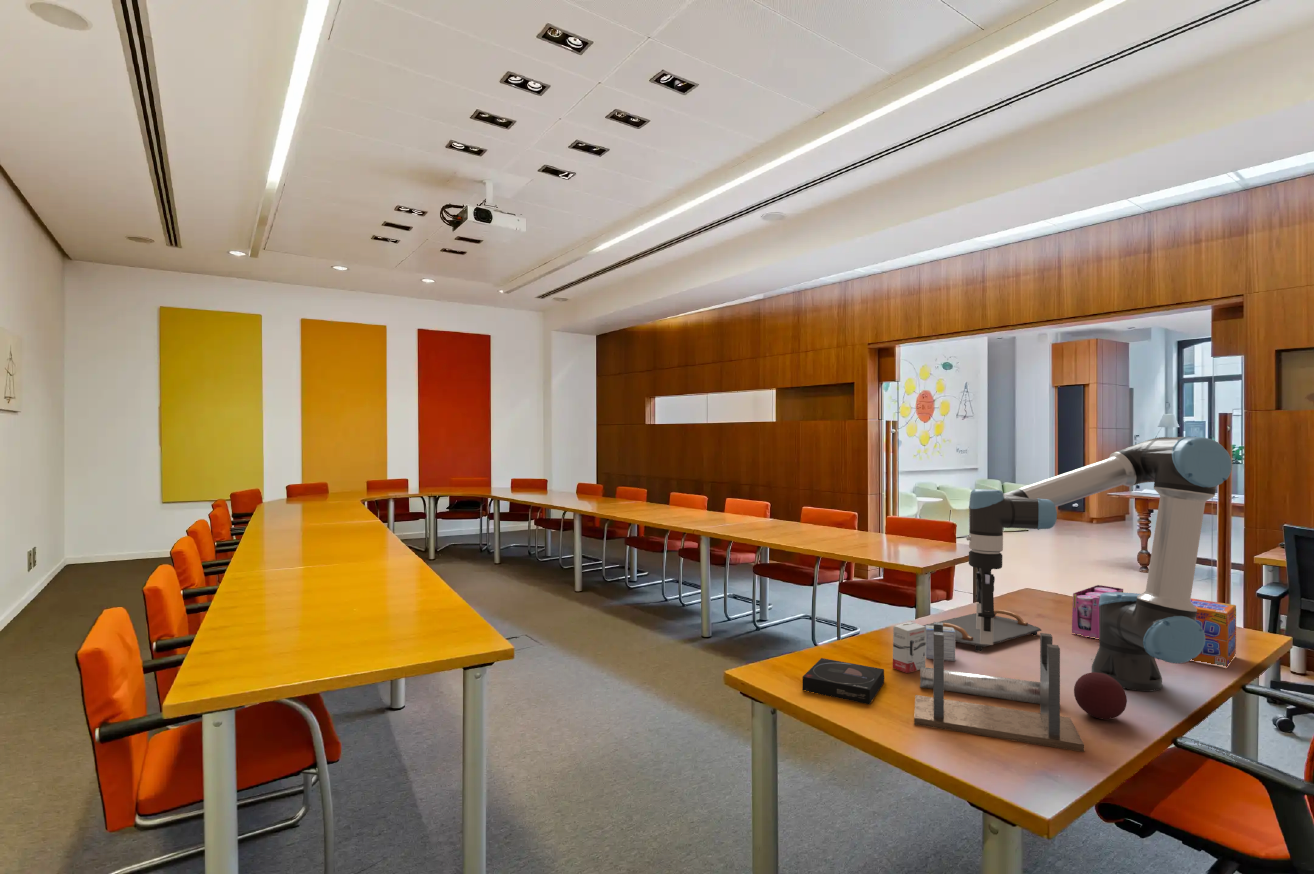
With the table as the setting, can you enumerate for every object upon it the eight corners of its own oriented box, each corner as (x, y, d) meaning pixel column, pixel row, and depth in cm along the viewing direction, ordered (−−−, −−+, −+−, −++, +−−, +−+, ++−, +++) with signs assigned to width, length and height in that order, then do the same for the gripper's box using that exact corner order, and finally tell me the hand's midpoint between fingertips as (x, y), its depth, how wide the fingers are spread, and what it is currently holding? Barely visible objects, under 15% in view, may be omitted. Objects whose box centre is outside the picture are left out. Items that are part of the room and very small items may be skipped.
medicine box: (953, 656, 188) (953, 627, 188) (955, 661, 184) (955, 631, 184) (924, 653, 191) (924, 624, 191) (925, 658, 187) (925, 628, 187)
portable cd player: (884, 683, 168) (884, 668, 168) (869, 706, 154) (869, 689, 154) (822, 671, 177) (822, 657, 177) (802, 692, 162) (802, 676, 162)
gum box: (1097, 641, 204) (1097, 598, 204) (1069, 635, 210) (1069, 593, 210) (1124, 628, 219) (1124, 588, 219) (1097, 623, 225) (1097, 584, 225)
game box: (1158, 655, 191) (1157, 602, 191) (1169, 644, 201) (1169, 594, 201) (1227, 669, 179) (1227, 613, 179) (1236, 657, 189) (1236, 604, 190)
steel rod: (1053, 697, 157) (1054, 679, 156) (1057, 710, 153) (1058, 692, 151) (920, 679, 169) (920, 662, 167) (920, 691, 164) (920, 673, 163)
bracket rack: (1070, 724, 143) (1070, 634, 143) (1084, 751, 130) (1084, 653, 131) (915, 700, 156) (915, 618, 156) (914, 724, 143) (914, 633, 143)
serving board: (980, 619, 230) (980, 602, 230) (1048, 636, 211) (1048, 617, 211) (911, 636, 210) (911, 617, 210) (979, 656, 190) (979, 635, 190)
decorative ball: (1136, 728, 141) (1136, 682, 141) (1086, 725, 143) (1086, 679, 143) (1112, 709, 151) (1112, 667, 151) (1065, 706, 153) (1065, 664, 153)
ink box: (907, 673, 174) (907, 630, 174) (891, 668, 178) (892, 625, 178) (926, 667, 179) (926, 625, 179) (910, 662, 183) (911, 621, 183)
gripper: (966, 543, 174) (964, 621, 174) (971, 557, 151) (970, 648, 151) (997, 545, 171) (996, 625, 171) (1008, 560, 148) (1006, 653, 148)
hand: (984, 636), depth 161 cm, fingers open, 13 cm apart
